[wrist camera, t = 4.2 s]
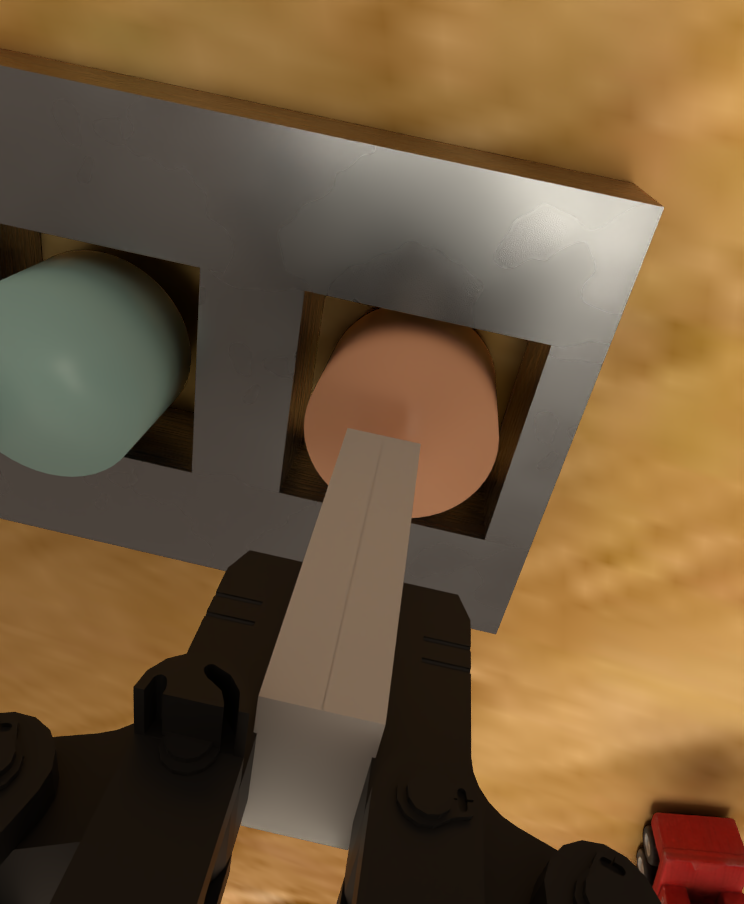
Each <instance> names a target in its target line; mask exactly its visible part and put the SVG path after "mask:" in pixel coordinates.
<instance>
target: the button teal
mask: <svg viewBox="0 0 744 904" xmlns="http://www.w3.org/2000/svg"><path fill="white" fill-rule="evenodd" d="M190 365H191V347H190V341H189V336H188V333H187V329H186V326H185V324H184V321H183V319H182V317H181V315H180V313H179V311H178V309H177V308H176V306H175V304H174V303H173V301H172V300H171V299H170V297H169V296H168V294H167V293H166V292H165V291H164V290H163V289H162V288H161V286H160V285H159V284H158V283H157V282H156V281H154V280H153V279H152V278H151V277H150V276H149V275H148V274H146V273H145V272H143V271H142V270H141V269H139V268H138V267H136V266H134V265H133V264H131V263H129V262H127V261H126V260H123V259H121V258H118V257H116V256H114V255H110V254H107V253H103V252H97V251H91V250H76V251H69V252H65V253H61V254H58V255H56V256H53V257H51V258H49V259H47V260H45V261H42V262H40V263H38V264H36V265H34V266H31V267H29V268H27V269H25V270H23V271H20V272H18V273H16V274H14V275H12V276H9V277H7V278H5V279H3V280H1V281H0V452H1V453H2V454H4V455H5V456H7V457H9V458H10V459H12V460H14V461H16V462H18V463H20V464H22V465H24V466H26V467H29V468H31V469H34V470H36V471H40V472H43V473H47V474H52V475H57V476H67V477H77V476H87V475H92V474H96V473H99V472H101V471H104V470H106V469H108V468H110V467H112V466H113V465H115V464H116V463H117V462H119V461H120V460H121V459H122V458H123V457H124V456H125V455H126V454H127V452H128V451H129V450H130V449H131V448H132V447H133V446H134V445H135V444H136V443H137V441H138V440H139V439H140V438H141V437H142V436H143V435H144V434H145V433H146V431H147V430H148V429H149V428H150V427H151V426H152V425H153V424H154V423H155V421H156V420H157V419H158V418H159V417H160V416H161V415H162V414H163V413H164V412H165V410H166V409H167V408H168V407H169V406H170V405H171V404H172V403H173V402H174V400H175V399H176V398H177V397H178V396H179V395H180V393H181V391H182V390H183V388H184V386H185V384H186V382H187V379H188V375H189V372H190Z"/></svg>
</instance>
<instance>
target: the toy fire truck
mask: <svg viewBox="0 0 744 904" xmlns="http://www.w3.org/2000/svg"><path fill="white" fill-rule="evenodd" d="M643 842H644V849H639V850H638V853H637V868H638V869H639V870H640V871H641V872H642V873H643V874H644V875H645V876H646V878H647V879H648V881H649V883H650V884H651V886H652V888H653V890H654V891H655V893H656V895H657V896H658V898H659V900H660V901H661V903H662V904H744V894H743V893H742V889H743V887H744V846H743V842H742V840H741V837H740V834H739V831H738V828H737V826H736V823H735V821H734V819H732V818H719V817H709V816H699V815H682V814H670V813H658V812H657V813H655V814H654V815H653V817H652V821H651V826H646V827H645V828H644V832H643Z"/></svg>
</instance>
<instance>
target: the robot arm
mask: <svg viewBox="0 0 744 904" xmlns="http://www.w3.org/2000/svg"><path fill="white" fill-rule="evenodd" d="M420 446H421V444H419V443H414V442H410V441H405V440H401V439H396V438H392V437H387V436H383V435H378V434H373V433H369V432H364V431H360V430H355V429H351V428H347V431H346V434H345V437H344V440H343V443H342V446H341V449H340V452H339V455H338V458H337V461H336V464H335V467H334V470H333V473H332V476H331V479H330V482H329V485H328V488H327V491H326V494H325V497H324V500H323V503H322V506H321V509H320V512H319V515H318V518H317V521H316V524H315V527H314V530H313V533H312V536H311V539H310V542H309V545H308V548H307V551H306V554H305V557H304V560H303V562H301V561H296V560H292V559H288V558H283V557H279V556H274V555H270V554H265V553H261V552H256V551H252V550H249V551H248V552H247V553H245V554H244V555H243V556H242V557H240V558H239V559H238V560H237V561H235V562H234V563H233V564H232V565H230V566H229V567H228V568H227V570H226V572H225V575H224V577H223V579H222V581H221V583H220V585H219V587H218V589H217V591H216V595H215V596H214V597H213V600H212V602H211V604H210V606H209V608H208V610H207V614H206V616H204V618H203V620H202V623H201V625H200V627H199V629H198V631H197V633H196V635H195V637H194V639H193V641H192V643H191V646H190V648H189V650H188V652H187V654H184V655H180V656H175V657H171V658H167V659H165V660H164V661H162V662H160V663H159V664H157V665H155V666H154V667H152V668H150V669H149V670H147V671H146V673H145V674H144V675H143V676H142V677H141V679H140V680H139V681H138V682H137V684H136V685H135V686H134V687H133V688H134V724H131V725H129V726H126V727H124V728H121V729H118V730H115V731H109V732H104V733H97V734H85V735H73V736H61V737H52V735H51V732H50V730H49V729H48V728H47V727H46V726H45V725H44V724H42V723H41V722H40V721H39V720H38V719H37V718H35V717H32V716H28V715H24V714H21V713H17V712H7V713H0V904H220V903H221V900H222V896H223V893H224V889H225V886H226V883H227V879H228V876H229V872H230V864H231V856H232V851H233V847H234V844H235V841H236V837H237V834H238V831H239V827H240V824H241V826H246V827H250V828H254V829H259V830H263V831H267V832H272V833H276V834H280V835H285V836H289V837H293V838H298V839H302V840H306V841H311V842H315V843H319V844H324V845H328V846H332V847H337V848H341V849H345V850H348V849H349V852H348V858H347V865H346V872H345V877H344V881H343V884H342V887H341V891H340V894H339V897H338V900H337V904H662V903H661V901H660V900H659V898H658V896H657V895H656V893H655V891H654V890H653V888H652V886H651V884H650V883H649V881H648V879H647V878H646V876H645V875H644V874H643V873H642V872H641V871H640V870H639V869H638V868H637V867H636V866H635V865H634V864H633V863H632V862H631V861H630V860H629V859H628V858H627V857H625V856H623V855H622V854H620V853H618V852H616V851H615V850H613V849H611V848H609V847H608V846H606V845H604V844H599V843H594V842H588V841H583V840H581V841H577V842H574V843H570V844H566V845H563V846H562V847H561V848H560V849H559V850H556V849H554V848H552V847H551V846H549V845H547V844H545V843H544V842H542V841H540V840H539V839H537V838H535V837H533V836H532V835H530V834H528V833H527V832H525V831H523V830H521V829H520V828H518V827H516V826H515V825H514V824H512V823H511V822H509V821H508V820H507V819H505V818H504V817H503V816H501V815H500V814H499V813H498V811H497V810H496V809H495V808H494V807H493V806H492V805H491V804H490V803H489V802H488V800H487V799H486V797H485V796H484V794H483V793H482V791H481V789H480V788H479V786H478V783H477V780H476V778H475V775H474V773H473V767H472V760H471V674H470V669H471V652H470V647H471V620H470V618H469V616H468V614H467V612H466V610H465V608H464V606H463V604H462V602H461V600H460V597H459V595H458V594H453V593H449V592H444V591H440V590H435V589H431V588H426V587H422V586H417V585H413V584H408V583H404V582H403V581H404V573H405V565H406V558H407V550H408V542H409V534H410V526H411V518H412V510H413V502H414V494H415V486H416V478H417V470H418V462H419V454H420ZM241 821H242V822H241Z"/></svg>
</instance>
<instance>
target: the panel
mask: <svg viewBox="0 0 744 904" xmlns="http://www.w3.org/2000/svg"><path fill="white" fill-rule="evenodd" d="M663 209H664V207H663V206H662V205H661V204H659V203H658V202H657V201H656V200H654V199H653V198H652V197H650V196H649V195H648V194H647V193H645V192H644V191H643V190H641V189H640V188H639V187H638V186H636V185H635V184H634V183H630V182H625V181H620V180H616V179H611V178H606V177H601V176H597V175H592V174H587V173H583V172H578V171H573V170H569V169H564V168H559V167H555V166H550V165H545V164H541V163H536V162H531V161H526V160H522V159H517V158H512V157H508V156H503V155H498V154H494V153H489V152H484V151H480V150H475V149H470V148H465V147H461V146H456V145H451V144H447V143H442V142H437V141H433V140H428V139H423V138H419V137H414V136H409V135H404V134H400V133H395V132H390V131H386V130H381V129H376V128H372V127H367V126H362V125H358V124H353V123H348V122H344V121H339V120H334V119H329V118H325V117H320V116H315V115H311V114H306V113H301V112H297V111H292V110H287V109H283V108H278V107H273V106H268V105H264V104H259V103H254V102H250V101H245V100H240V99H236V98H231V97H226V96H222V95H217V94H212V93H207V92H203V91H198V90H193V89H189V88H184V87H179V86H175V85H170V84H165V83H161V82H156V81H151V80H147V79H142V78H137V77H132V76H128V75H123V74H118V73H114V72H109V71H104V70H100V69H95V68H90V67H86V66H81V65H76V64H71V63H67V62H62V61H57V60H53V59H48V58H43V57H39V56H34V55H29V54H25V53H20V52H15V51H10V50H6V49H1V48H0V281H1V280H3V279H5V278H7V277H9V276H12V275H14V274H16V273H18V272H20V271H23V270H25V269H27V268H29V267H31V266H34V265H36V264H38V263H40V262H42V252H41V241H40V232H41V233H46V234H50V235H55V236H59V237H64V238H68V239H73V240H77V241H82V242H86V243H91V244H95V245H100V246H104V247H109V248H113V249H118V250H123V251H127V252H132V253H136V254H141V255H145V256H150V257H154V258H159V259H163V260H168V261H172V262H177V263H181V264H186V265H190V266H195V267H199V268H200V283H199V308H198V333H197V358H196V383H195V408H194V413H191V412H187V411H182V410H178V409H173V408H169V407H168V408H167V409H166V410H165V412H164V413H163V414H162V415H161V416H160V417H159V418H158V419H157V420H156V421H155V423H154V424H153V425H152V426H151V427H150V428H149V429H148V430H147V431H146V433H145V434H144V435H143V436H142V437H141V438H140V439H139V440H138V441H137V443H136V444H135V445H134V446H133V447H132V448H131V449H130V450H129V451H128V452H127V454H126V455H125V456H124V457H123V458H122V459H121V460H120V461H119V462H117V463H116V464H115V465H113V466H112V467H110V468H108V469H106V470H104V471H101V472H99V473H96V474H92V475H87V476H77V477H67V476H57V475H52V474H47V473H43V472H40V471H36V470H34V469H31V468H29V467H26V466H24V465H22V464H20V463H18V462H16V461H14V460H12V459H10V458H9V457H7V456H5V455H4V454H2V453H1V452H0V518H1V519H5V520H10V521H14V522H18V523H23V524H27V525H31V526H35V527H40V528H44V529H48V530H52V531H57V532H61V533H65V534H70V535H74V536H78V537H82V538H87V539H91V540H95V541H99V542H104V543H108V544H112V545H117V546H121V547H125V548H129V549H134V550H138V551H142V552H147V553H151V554H155V555H159V556H164V557H168V558H172V559H176V560H181V561H185V562H189V563H194V564H198V565H202V566H206V567H211V568H215V569H219V570H223V571H226V570H227V568H228V567H229V566H230V565H232V564H233V563H234V562H235V561H237V560H238V559H239V558H240V557H242V556H243V555H244V554H245V553H247V552H248V551H249V550H252V551H256V552H261V553H265V554H270V555H274V556H279V557H283V558H288V559H292V560H296V561H301V562H303V560H304V557H305V554H306V551H307V548H308V545H309V542H310V539H311V536H312V533H313V530H314V527H315V524H316V521H317V518H318V515H319V512H320V509H321V506H322V503H323V500H324V497H325V494H326V491H327V488H328V484H327V483H326V482H325V481H324V480H323V479H322V477H321V476H320V475H319V473H318V472H317V470H316V469H315V467H314V465H313V463H312V461H311V459H310V456H309V453H308V451H307V447H306V443H305V438H304V437H305V436H304V418H305V413H306V408H307V405H308V402H309V400H310V395H311V388H312V381H313V374H314V367H315V361H316V354H317V347H318V340H319V333H320V326H321V319H322V312H323V305H324V298H325V295H326V296H331V297H335V298H340V299H344V300H349V301H353V302H358V303H362V304H367V305H372V306H376V307H381V308H385V309H390V310H394V311H399V312H403V313H408V314H412V315H417V316H421V317H426V318H430V319H435V320H439V321H444V322H448V323H453V324H458V325H462V326H467V327H471V328H476V329H480V330H485V331H489V332H494V333H498V334H503V335H507V336H512V337H516V338H521V339H525V340H529V341H528V344H527V347H526V350H525V353H524V356H523V360H522V363H521V366H520V369H519V372H518V375H517V378H516V381H515V384H514V387H513V391H512V394H511V397H510V400H509V403H508V406H507V409H506V412H505V415H504V418H503V421H502V425H501V428H500V431H499V444H498V451H497V456H496V460H495V462H494V465H493V467H492V470H491V472H490V473H489V475H488V477H487V478H486V480H485V481H484V482H483V484H482V485H481V486H480V487H479V489H478V490H477V491H476V492H474V493H473V494H472V495H471V496H470V497H469V498H467V499H466V500H465V501H463V502H462V503H460V504H459V505H457V506H455V507H453V508H451V509H449V510H446V511H444V512H441V513H438V514H434V515H431V516H425V517H419V518H411V526H410V534H409V542H408V550H407V558H406V565H405V573H404V581H403V582H404V583H408V584H413V585H417V586H422V587H426V588H431V589H435V590H440V591H444V592H449V593H453V594H458V595H459V597H460V600H461V602H462V604H463V606H464V608H465V610H466V612H467V614H468V616H469V618H470V620H471V629H476V630H480V631H484V632H489V633H493V634H496V633H497V630H498V628H499V625H500V623H501V620H502V618H503V615H504V613H505V610H506V608H507V605H508V603H509V600H510V597H511V595H512V592H513V590H514V587H515V585H516V582H517V580H518V577H519V575H520V572H521V570H522V567H523V564H524V562H525V559H526V557H527V554H528V552H529V549H530V547H531V544H532V542H533V539H534V537H535V534H536V532H537V529H538V526H539V524H540V521H541V519H542V516H543V514H544V511H545V509H546V506H547V504H548V501H549V499H550V496H551V493H552V491H553V488H554V486H555V483H556V481H557V478H558V476H559V473H560V471H561V468H562V466H563V463H564V461H565V458H566V455H567V453H568V450H569V448H570V445H571V443H572V440H573V438H574V435H575V433H576V430H577V428H578V425H579V422H580V420H581V417H582V415H583V412H584V410H585V407H586V405H587V402H588V400H589V397H590V395H591V392H592V389H593V387H594V384H595V382H596V379H597V377H598V374H599V372H600V369H601V367H602V364H603V362H604V359H605V357H606V354H607V351H608V349H609V346H610V344H611V341H612V339H613V336H614V334H615V331H616V329H617V326H618V324H619V321H620V318H621V316H622V313H623V311H624V308H625V306H626V303H627V301H628V298H629V296H630V293H631V291H632V288H633V285H634V283H635V280H636V278H637V275H638V273H639V270H640V268H641V265H642V263H643V260H644V258H645V255H646V253H647V250H648V247H649V245H650V242H651V240H652V237H653V235H654V232H655V230H656V227H657V225H658V222H659V220H660V217H661V214H662V212H663Z"/></svg>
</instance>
